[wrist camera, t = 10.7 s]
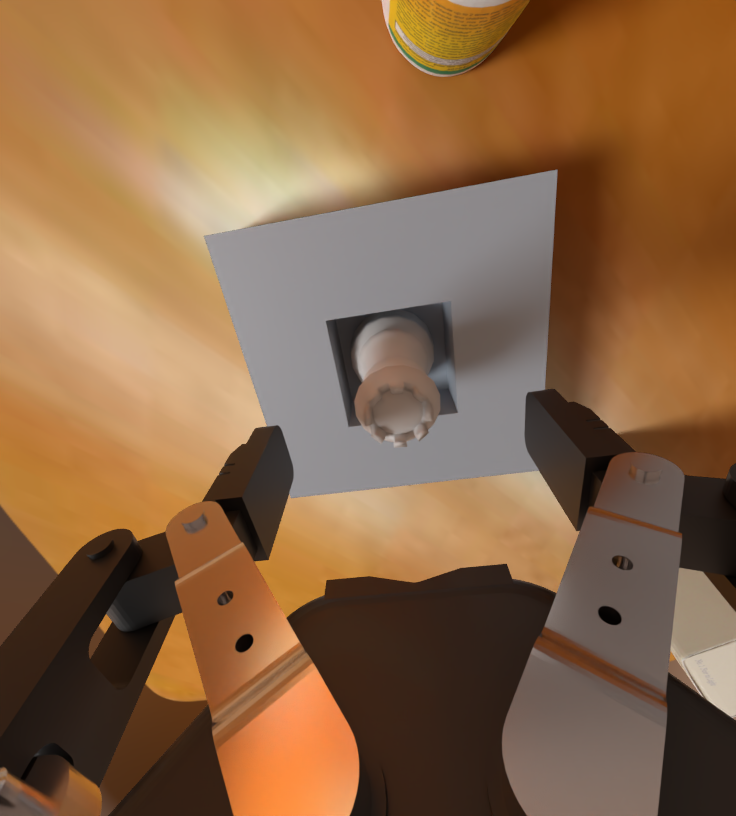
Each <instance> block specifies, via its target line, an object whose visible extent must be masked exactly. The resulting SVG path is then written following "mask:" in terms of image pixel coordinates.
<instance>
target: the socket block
mask: <svg viewBox="0 0 736 816" xmlns="http://www.w3.org/2000/svg"><path fill="white" fill-rule="evenodd" d="M557 171H558V169H557V170H552V171H547V172H541V173H536V174H531V175H526V176H520V177H515V178H510V179H504V180H499V181H494V182H488V183H483V184H478V185H472V186H467V187H462V188H456V189H451V190H446V191H440V192H435V193H430V194H425V195H419V196H414V197H409V198H403V199H398V200H393V201H387V202H382V203H377V204H371V205H366V206H361V207H355V208H350V209H345V210H339V211H334V212H329V213H323V214H318V215H313V216H308V217H302V218H297V219H292V220H286V221H281V222H276V223H270V224H265V225H260V226H254V227H249V228H244V229H238V230H233V231H228V232H222V233H217V234H212V235H206V236H204V238H205V241H206V244H207V247H208V250H209V253H210V256H211V259H212V262H213V265H214V268H215V271H216V274H217V277H218V280H219V283H220V286H221V289H222V292H223V295H224V298H225V301H226V304H227V307H228V310H229V313H230V316H231V319H232V322H233V325H234V328H235V331H236V334H237V337H238V340H239V343H240V346H241V349H242V352H243V355H244V358H245V361H246V364H247V367H248V370H249V373H250V376H251V379H252V382H253V385H254V388H255V391H256V394H257V397H258V400H259V403H260V406H261V409H262V412H263V415H264V418H265V421H266V424H267V427H268V426H275V425H278V426H280V428H281V430H282V432H283V435H284V438H285V442H286V445H287V448H288V451H289V454H290V457H291V460H292V464H293V470H294V478H293V483H292V486H291V489H290V492H289V493H290V496H291V498H297V497H306V496H315V495H324V494H333V493H342V492H351V491H360V490H369V489H378V488H387V487H396V486H405V485H414V484H423V483H431V482H440V481H449V480H458V479H467V478H476V477H485V476H494V475H503V474H512V473H521V472H530V471H539V470H538V468H537V466H536V465H535V463H534V461H533V460H532V458H531V457H530V455H529V453H528V451H527V448H526V444H525V437H524V432H525V404H526V395H527V393H528V392H533V391H540V390H545V379H546V362H547V344H548V327H549V310H550V292H551V275H552V258H553V240H554V223H555V206H556V188H557ZM397 309H401V310H404V311H407V312H410V313H413V314H415V315H416V316H417V317H418V318H419V319H420V320H421V321H423V322H424V323H425V324H426V325H427V327H428V330H429V332H430V334H431V336H432V338H433V344H434V362H433V364H432V367H431V369H430V371H429V374H428V377H429V378H431V379H432V380H433V381H434V383H435V385H436V387H437V389H438V391H439V393H440V412H439V414H438V416H437V419H436V421H435V423H434V425H433V426H432V427H430V428H429V429H428V432H429V433H428V434H427V435H426V436H425V437H424V438H423V439H422V440H421V441H420V442H419V441H418V440H417V438H414V439H412V440H409V441H407V447H396V448H394V442H389V441H386V440H384V441H383V442H382V444H380V443H379V442H378V441H376V440H375V439H373V438H372V437H371V434H370V433H369V432H367V431H366V430H365V429H364V428H363V427H362V425H361V423H360V422H359V420H358V418H357V417H356V411H355V403H354V400H355V397H356V394H357V391H358V388H359V386H360V385H361V384H362V382H361V381H360V379H359V378H358V376H357V374H356V373H355V371H354V369H353V367H352V361H351V352H350V351H351V349H350V345H351V342H352V338H353V335H354V332H355V330H356V329H357V327H358V326H359V325H360V324H361V323H362V321H363V320H364V319H365V318H366V317H368V316H370V315H372V314H374V313H378V312H384V311H390V310H397Z"/></svg>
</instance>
